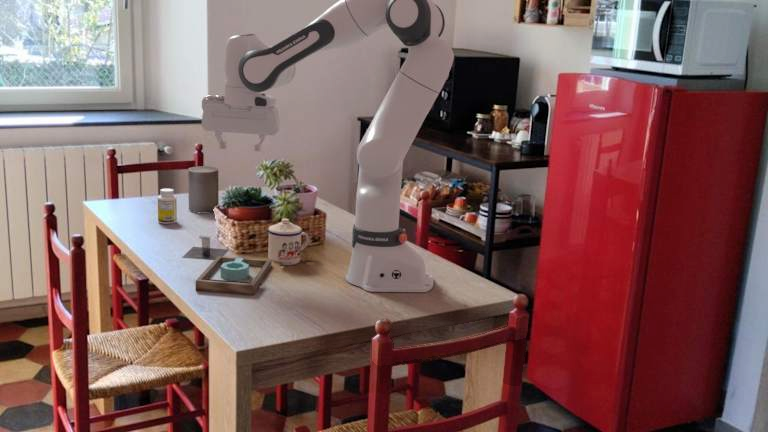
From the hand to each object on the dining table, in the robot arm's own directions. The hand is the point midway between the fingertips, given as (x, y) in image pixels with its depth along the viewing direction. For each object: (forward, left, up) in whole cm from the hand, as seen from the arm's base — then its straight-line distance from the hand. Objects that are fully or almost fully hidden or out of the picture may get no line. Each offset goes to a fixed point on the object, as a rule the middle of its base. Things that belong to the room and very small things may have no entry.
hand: (240, 149), depth 214 cm
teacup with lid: (-14, +1, -29) cm, 33 cm away
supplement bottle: (+29, -27, -29) cm, 49 cm away
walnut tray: (-4, +20, -29) cm, 35 cm away
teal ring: (-4, +18, -29) cm, 34 cm away
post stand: (+8, +4, -29) cm, 30 cm away
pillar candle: (+23, -45, -29) cm, 58 cm away
